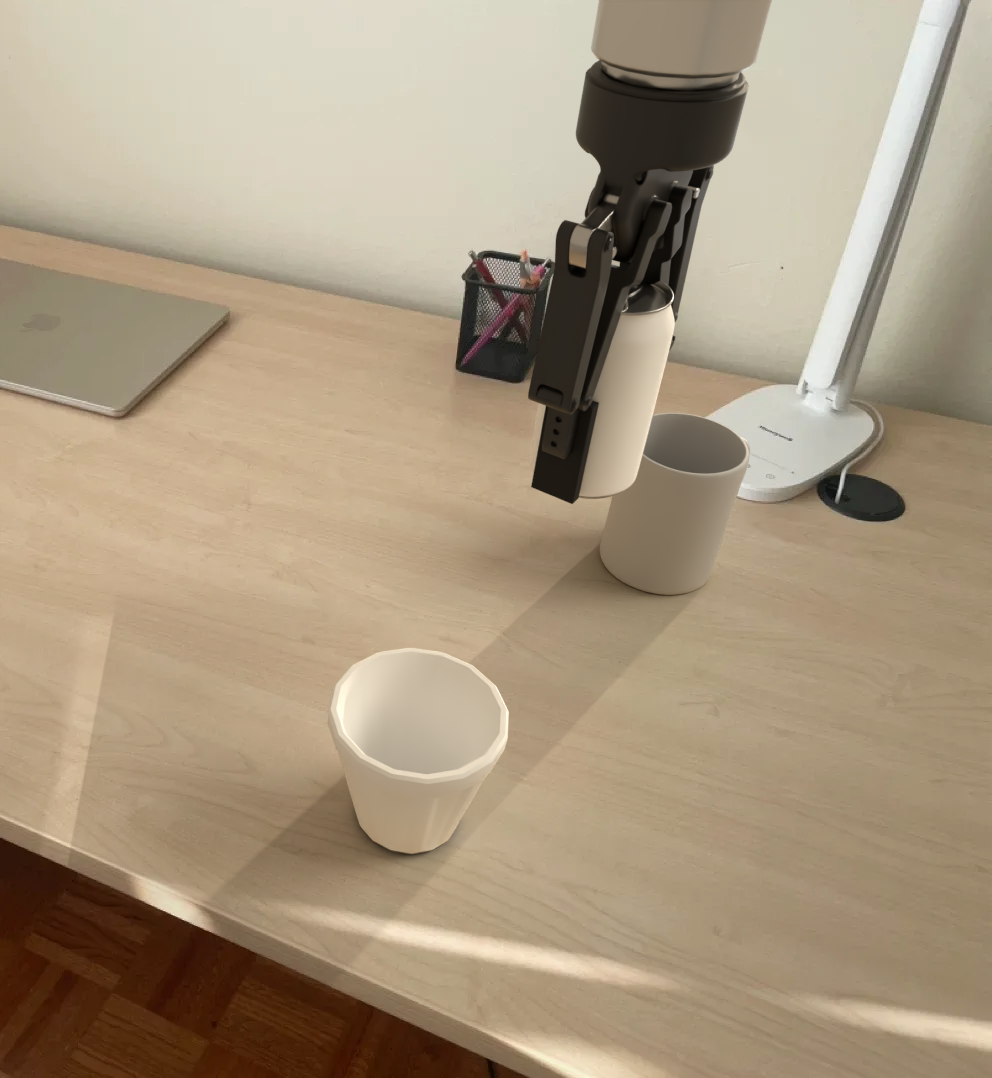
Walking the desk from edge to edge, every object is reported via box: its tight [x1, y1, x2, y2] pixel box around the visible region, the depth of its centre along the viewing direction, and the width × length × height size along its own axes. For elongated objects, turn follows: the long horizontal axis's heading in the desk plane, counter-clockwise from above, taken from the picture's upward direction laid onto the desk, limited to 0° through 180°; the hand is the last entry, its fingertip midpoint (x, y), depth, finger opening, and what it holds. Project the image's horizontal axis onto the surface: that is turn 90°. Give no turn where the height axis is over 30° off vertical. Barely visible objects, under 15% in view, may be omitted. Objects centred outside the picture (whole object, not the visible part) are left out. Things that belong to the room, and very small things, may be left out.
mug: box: [599, 412, 751, 596], centre depth 80 cm, size 12×8×11 cm
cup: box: [327, 647, 510, 856], centre depth 61 cm, size 10×10×9 cm
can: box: [528, 281, 676, 500], centre depth 61 cm, size 6×6×12 cm
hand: (583, 465), depth 65 cm, fingers closed on can, 6 cm apart
